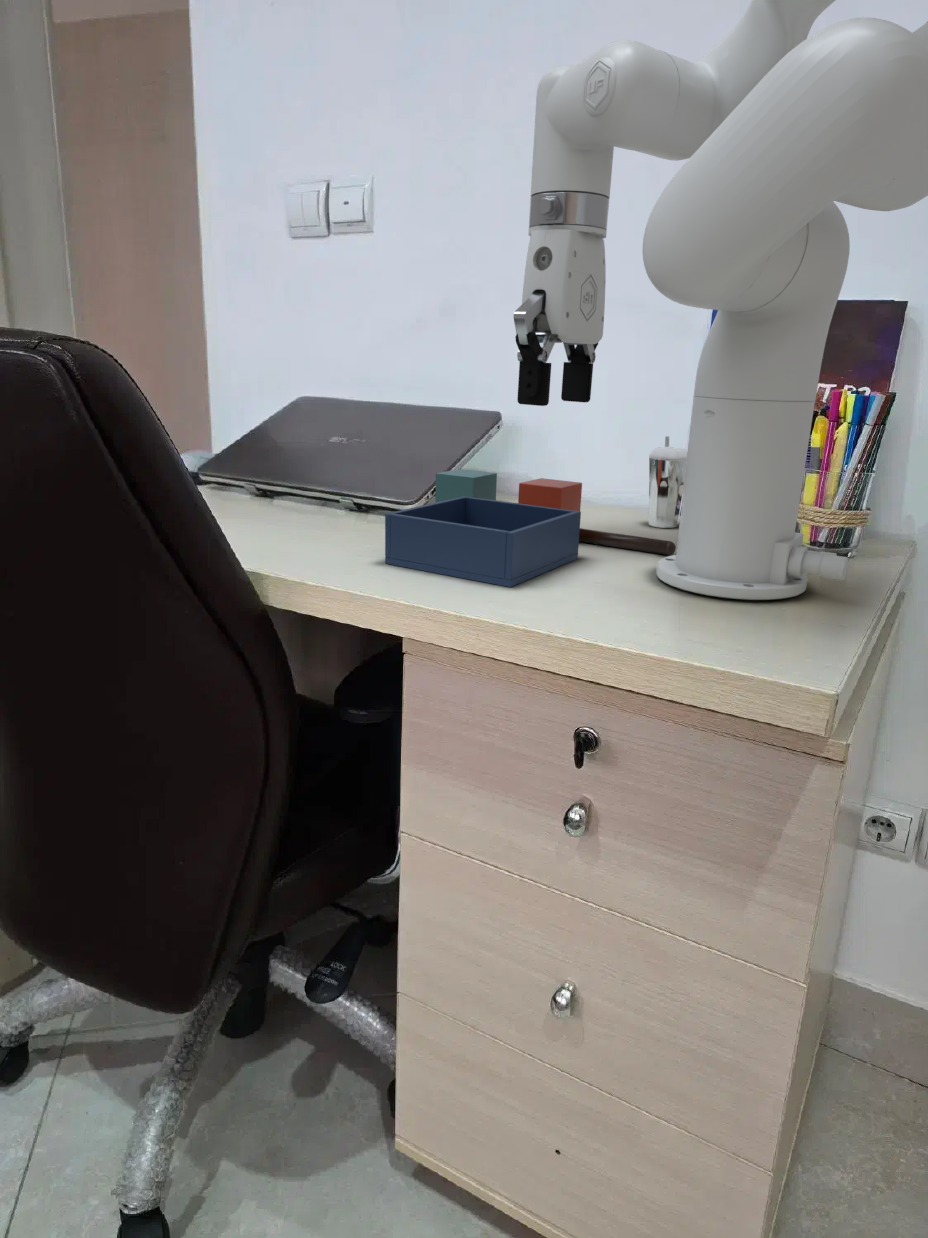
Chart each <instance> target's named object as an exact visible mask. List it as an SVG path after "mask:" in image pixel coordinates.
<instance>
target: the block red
mask: <svg viewBox="0 0 928 1238" xmlns="http://www.w3.org/2000/svg"><path fill="white" fill-rule="evenodd" d="M582 490H583V483H582V482H580V481H579V482H578V481H569V480H560V479H552V478H543V477H540V478H536V479H532V480H527V481H522V482H519V483H518V497H517V498H518V501H517V503H520V504H527V505H535V506H543V507H550V508H558V509H566V510H573V511H580V512H581V506H582V505H581V504H582V492H583V491H582Z"/></svg>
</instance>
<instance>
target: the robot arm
mask: <svg viewBox="0 0 928 1238" xmlns="http://www.w3.org/2000/svg"><path fill="white" fill-rule="evenodd" d="M834 2H836V0H751V1H750V3H749V6H748V8H747V9H746V10H745V12H744V13H743V15H742V17H741V18H740V19H739V20H738V22H737V23H736V24H735V26H734V27H733V28H732V29H731V30H730V31H729V32H728V33H727V34H726V35H725V36H724V37H723V38H722V39H721V40H720V41H719V42H718V43H716V44H715V45H714V46H713V47H712V48H711V49H710V50H709V51H708V52H706V53H705V54H704V55H703V56H702V57H701V58H700V59H698V60H696V62H694V63H693V62H692V61H689V60H687V59H684V58H683V57H682V58H681V57H678V56H676V55H673V54H671V53H668V52H666V51H663V50H660V49H657V48H654V47H652V46H649V45H647V44H644V43H642V42H639V41H637V40H631V39H620V40H615V41H613V42H610V43H608V44H606V45H603V46H602V47H600V48H599V49H597V50H596V51H594V52H592V53H591V54H590V55H588V56H587V57H585V58H584V59H583V60H581V61H579V62H578V63H576V64H574V63H573V64H565V65H561V66H557V67H554V68H551V69H549V70H548V71H547V72H545V73H544V74H543V75H542V77H541V78H540V80H539V81H538V85H537V89H536V98H535V112H534V113H535V115H534V130H533V131H534V133H533V148H532V149H533V151H532V166H531V182H530V185H531V186H530V202H529V205H530V206H529V216H528V217H529V219H528V233H527V235H528V236H529V242H528V248H527V252H526V253H527V254H526V261H525V268H524V275H523V285H522V298H521V305H520V306H519V307H518V308H517V309H516V310H515V311H514V312H513V323H514V328H515V338H514V339H515V343H516V346H517V349H518V350H517V354H516V356H517V357H516V358H517V361H518V362H519V366H518V367H519V368H518V383H517V403H518V404H519V405H526V406H538V407H546V406H548V405H549V403H550V392H551V391H550V390H551V377H552V376H551V375H552V362H548V361H549V358H550V355H551V353H552V351H553V348H554V346H555V344H560V343H562V344H563V347H564V351H565V355H566V359H567V361H563V365H562V366H563V369H562V380H561V395H560V398H561V400H562V401H563V402H573V403H589V402H590V401H591V394H592V385H593V384H592V383H593V372H594V371H593V370H594V363H595V362H596V357H597V355H596V349H597V347H598V345H599V342H600V341H601V340H602V339H603V337H604V325H605V324H604V323H605V309H606V308H605V307H606V282H607V281H606V278H607V277H606V275H607V274H606V273H607V271H606V265H607V264H606V246H605V239H606V238H607V233H608V220H609V208H610V197H611V188H612V187H611V185H612V175H613V161H614V151H615V148H619V149H623V150H627V151H634V152H638V153H641V154H645V155H649V156H653V157H656V158H659V159H663V160H667V161H676V162H677V161H684V160H687V161H685V163H684V164H683V165H682V166H681V167H680V168H679V170H678V171H677V172H676V173H675V174H674V175H673V177H672V179H671V180H670V181H669V182H668V183H667V184H666V186H665V187H664V189H663V190H662V192H661V193H660V194H659V196H658V198H657V200H656V202H655V204H654V205H653V207H652V208H651V212H650V214H649V217H648V219H647V222H646V225H645V229H644V235H643V238H642V260H643V266H644V269H645V273H646V275H647V277H648V279H649V281H650V282H651V284H652V285H653V286H654V288H655V290H657V291H658V292H659V293H660V294H661V295H663V296H664V297H666V299H668V300H670V301H672V302H674V303H677V304H680V305H683V306H687V307H691V308H697V309H704V310H713V311H717V312H716V315H715V317H714V319H713V322H712V324H711V326H710V329H709V331H708V333H707V336H706V337H705V340H704V342H703V343H704V344H703V346H702V348H701V352H700V356H699V359H698V363H697V367H696V368H697V369H696V372H695V373H696V375H695V381H694V391H693V396H692V405H691V406H692V407H691V416H690V425H689V433H688V442H687V443H688V444H687V461H686V470H685V479H684V488H683V494H682V500H681V506H680V516H679V527H678V536H677V544H676V552H675V554H671V555H667V556H665V557H663V558H661V559H659V560H658V562H657V563H656V574H655V575H656V576H657V577H658V579H659V580H660V581H662V582H663V583H665V584H667V585H669V586H671V587H674V588H677V589H680V590H682V591H686V592H690V593H695V594H699V595H705V596H710V597H717V598H722V599H735V600H748V601H749V600H750V601H770V600H783V599H789V598H793V597H797V596H799V595H801V594H804V593H805V592H806V590H807V587H808V576H807V575H811V576H817V577H819V578H820V579H821V578H822V579H828V580H835V581H841V582H843V581H845V578H846V574H847V569H848V564H849V558H848V556H841V555H838V554H837V552H829V551H824V550H823V551H822V550H820V551H817V550H810V549H809V548H808V546H804V545H803V540H804V533H802V532H796V528H797V521H798V515H799V509H800V503H801V495H802V489H803V481H804V476H805V470H806V462H807V456H808V449H809V442H810V436H811V429H812V423H813V418H814V417H813V416H814V410H815V404H816V400H817V393H818V387H819V380H820V374H821V368H822V364H823V358H824V353H825V348H826V343H827V339H828V334H829V330H830V326H831V323H832V319H833V316H834V312H835V309H836V306H837V303H838V301H839V297H840V295H841V290H842V288H843V285H844V282H845V278H846V274H847V270H848V265H849V258H850V252H851V251H850V247H851V245H850V243H851V241H850V234H849V228H848V224H847V221H846V220H845V217H844V214H843V213H842V211H841V209H840V208H839V207H838V205H837V204H836V202H837V203H841V204H844V205H847V206H851V207H855V208H858V209H863V210H868V211H875V212H892V211H898V210H902V209H907V208H908V207H911V206H913V205H914V204H917V203H918V202H920V201H922V200H924V199H925V198H926V197H928V20H927V21H926V22H925V23H923V24H922V25H921V26H920V27H918V28H917V29H916V30H914V31H913V32H912V31H910V30H908V29H907V28H905V27H903V26H902V25H900V24H897V23H895V22H892V21H890V20H886V19H881V18H876V17H855V18H848V19H845V20H841V21H839V22H836V23H833V24H830V25H828V26H826V27H824V28H822V29H821V30H819V31H817V32H814V33H813V34H812V35H810V36H809V34H810V31H811V29H812V27H813V25H814V23H815V22H816V20H817V19H818V17H819V16H821V14H822V13H823V12H824V11H825V10H826V9H828V8H829V7H830V6H831V5H832V4H833V3H834Z"/></svg>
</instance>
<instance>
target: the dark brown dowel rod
mask: <svg viewBox="0 0 928 1238" xmlns="http://www.w3.org/2000/svg"><path fill="white" fill-rule="evenodd" d="M579 543H585V544H586V543H587V544H591V545H592V544H593V545H598V546H607V547H613V548H619V549H626V550H631V551H640V552H645V553H652V554H658V555H666V556H672V555H674V553H676V552H677V544H676V543H674V542H673V541H671V540H665V539H659V538H652V537H646V536H637V535H631V534H624V533H616V532H610V531H602V530H597V529H596V530H595V529H588V528H581V527H580V532H579Z"/></svg>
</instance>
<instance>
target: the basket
mask: <svg viewBox="0 0 928 1238" xmlns="http://www.w3.org/2000/svg"><path fill="white" fill-rule="evenodd" d="M581 515H582V511H581V510H580V511H573V510H566V509H558V508H550V507H543V506H535V505H527V504H520V503H518V502H512V501H503V500H497V499H496V500H489V499H482V498H474V497H466V496H463V497H458V498H454V499H449V500H445V501H440V502H436V503H435V502H432V503H427V504H423V505H419V506H413V507H410V508H405V509H401V510H396V511H392V512H386V513H384V535H385V536H384V556H385V557H384V563H385V564H387V565H393V566H397V567H402V568H408V569H413V570H419V571H423V572H428V573H433V574H439V575H445V576H449V577H455V578H459V579H466V580H470V581H476V582H481V583H485V584H491V585H497V586H502V587H508V588H511V587H514V586H516V585H520V584H521V583H524V582H526V581H528V580H531V579H533V578H536V577H537V576H541V575H542V574H545V573H547V572H550V571H553V570H554V569H557V568H559V567H561V566H564V565H566V564H568V563H571V562H573V561H576V560H578V558H579V543H580V542H579V532H580V528H581Z"/></svg>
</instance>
